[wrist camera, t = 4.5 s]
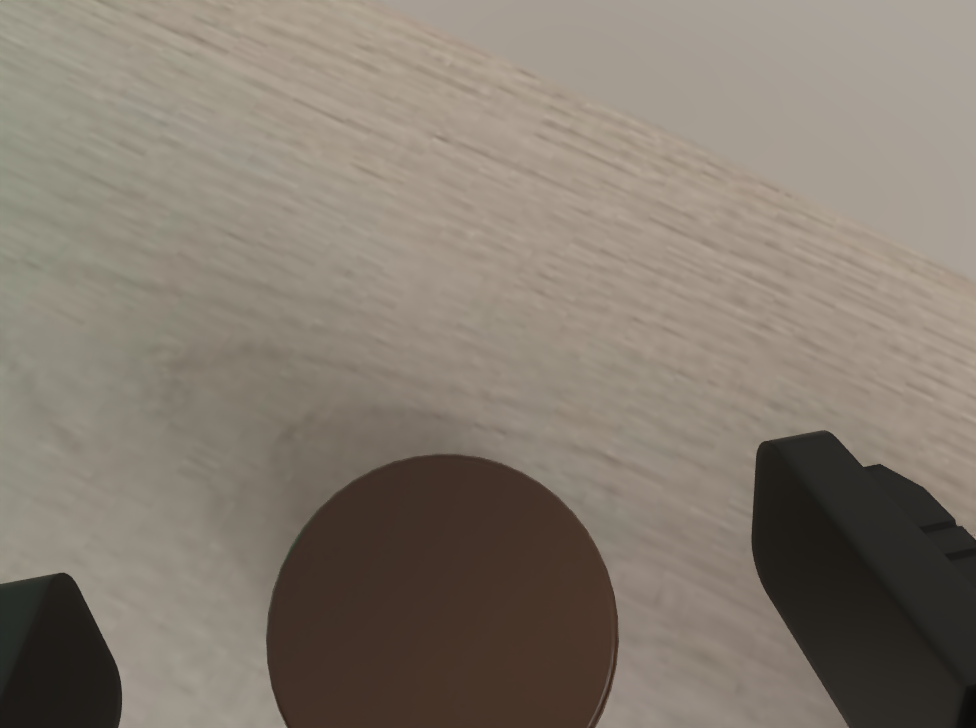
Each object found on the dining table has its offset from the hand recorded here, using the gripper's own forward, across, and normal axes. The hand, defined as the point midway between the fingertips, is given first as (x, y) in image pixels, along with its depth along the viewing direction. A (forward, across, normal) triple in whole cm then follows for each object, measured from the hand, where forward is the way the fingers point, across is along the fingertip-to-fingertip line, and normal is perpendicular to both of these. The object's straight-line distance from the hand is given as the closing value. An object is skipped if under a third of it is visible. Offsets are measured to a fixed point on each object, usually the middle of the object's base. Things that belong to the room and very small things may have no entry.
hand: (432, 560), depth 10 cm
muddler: (+4, 0, +5) cm, 6 cm away
